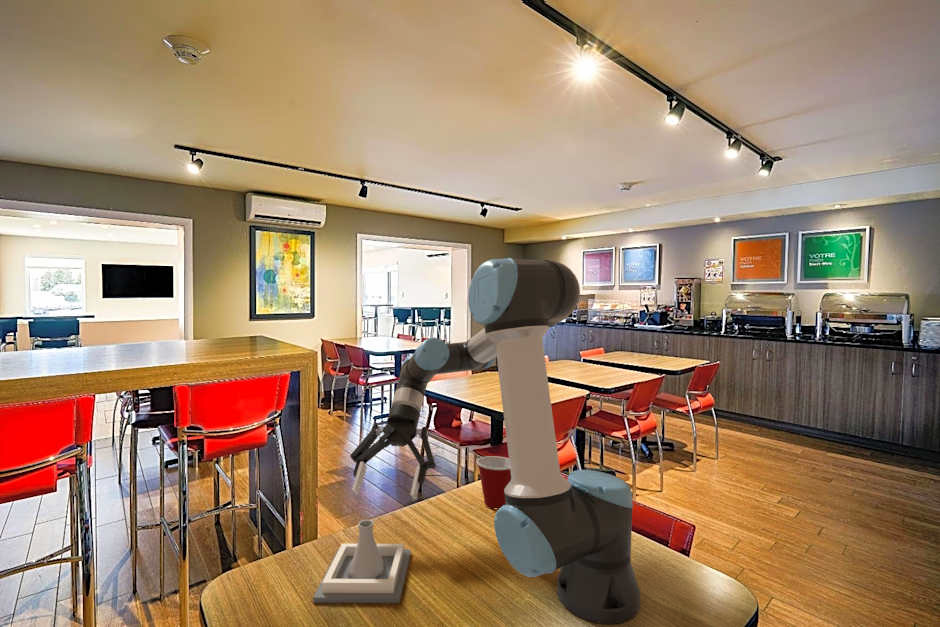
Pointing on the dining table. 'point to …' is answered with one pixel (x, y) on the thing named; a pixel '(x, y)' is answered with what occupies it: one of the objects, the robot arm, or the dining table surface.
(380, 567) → the flask
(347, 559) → the holder
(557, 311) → the robot arm
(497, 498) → the plastic cup
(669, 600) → the dining table surface
